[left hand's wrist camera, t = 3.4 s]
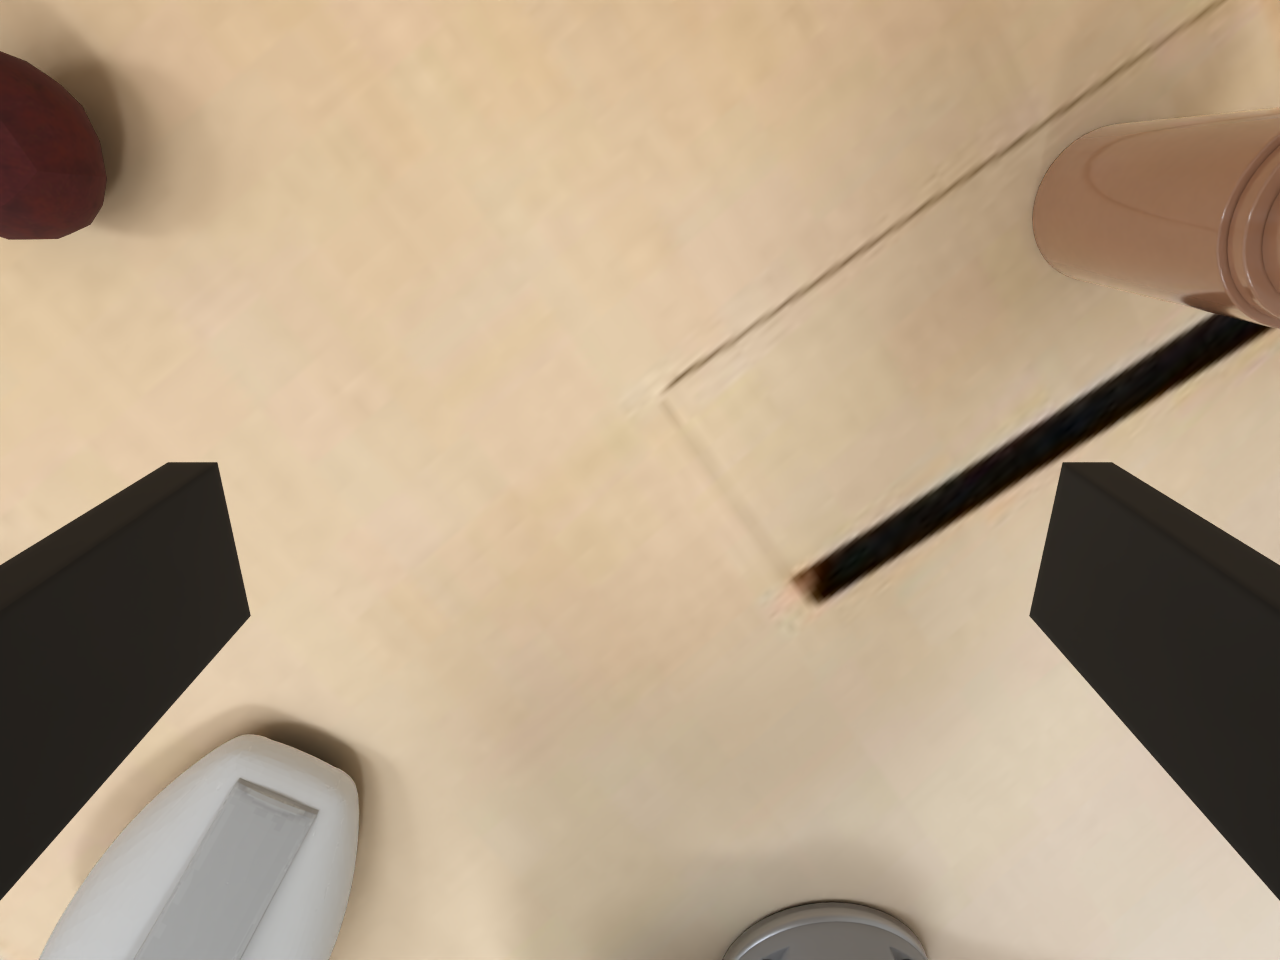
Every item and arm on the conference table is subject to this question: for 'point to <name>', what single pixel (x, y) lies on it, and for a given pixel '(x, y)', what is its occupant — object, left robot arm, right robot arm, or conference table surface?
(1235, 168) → the bottle
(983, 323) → the conference table surface
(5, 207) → the dark red round piece
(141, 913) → the projector
